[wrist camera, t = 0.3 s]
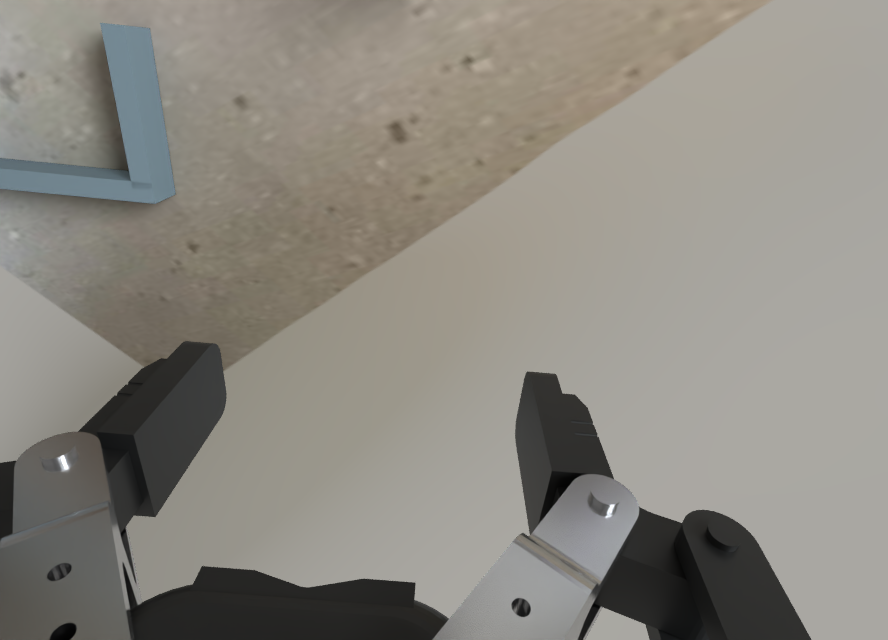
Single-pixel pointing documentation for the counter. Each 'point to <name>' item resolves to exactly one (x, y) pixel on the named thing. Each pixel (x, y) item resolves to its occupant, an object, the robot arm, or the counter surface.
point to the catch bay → (138, 127)
